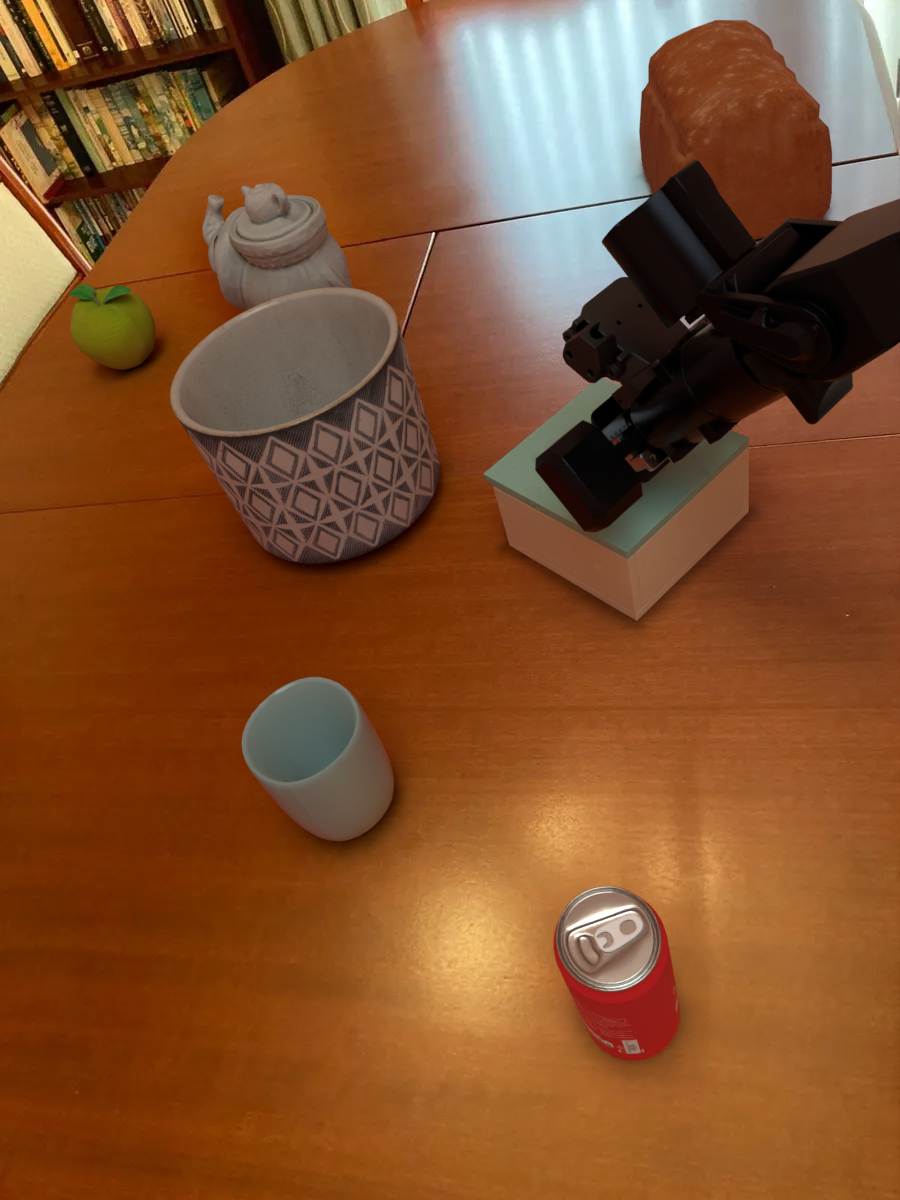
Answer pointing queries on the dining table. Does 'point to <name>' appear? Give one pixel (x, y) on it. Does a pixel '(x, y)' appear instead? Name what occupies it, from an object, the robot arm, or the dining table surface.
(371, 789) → the cup
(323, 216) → the teapot
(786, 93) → the bread
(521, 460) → the lid
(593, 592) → the cream square box
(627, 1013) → the beverage can
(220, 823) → the dining table surface
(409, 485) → the planter
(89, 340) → the fruit
